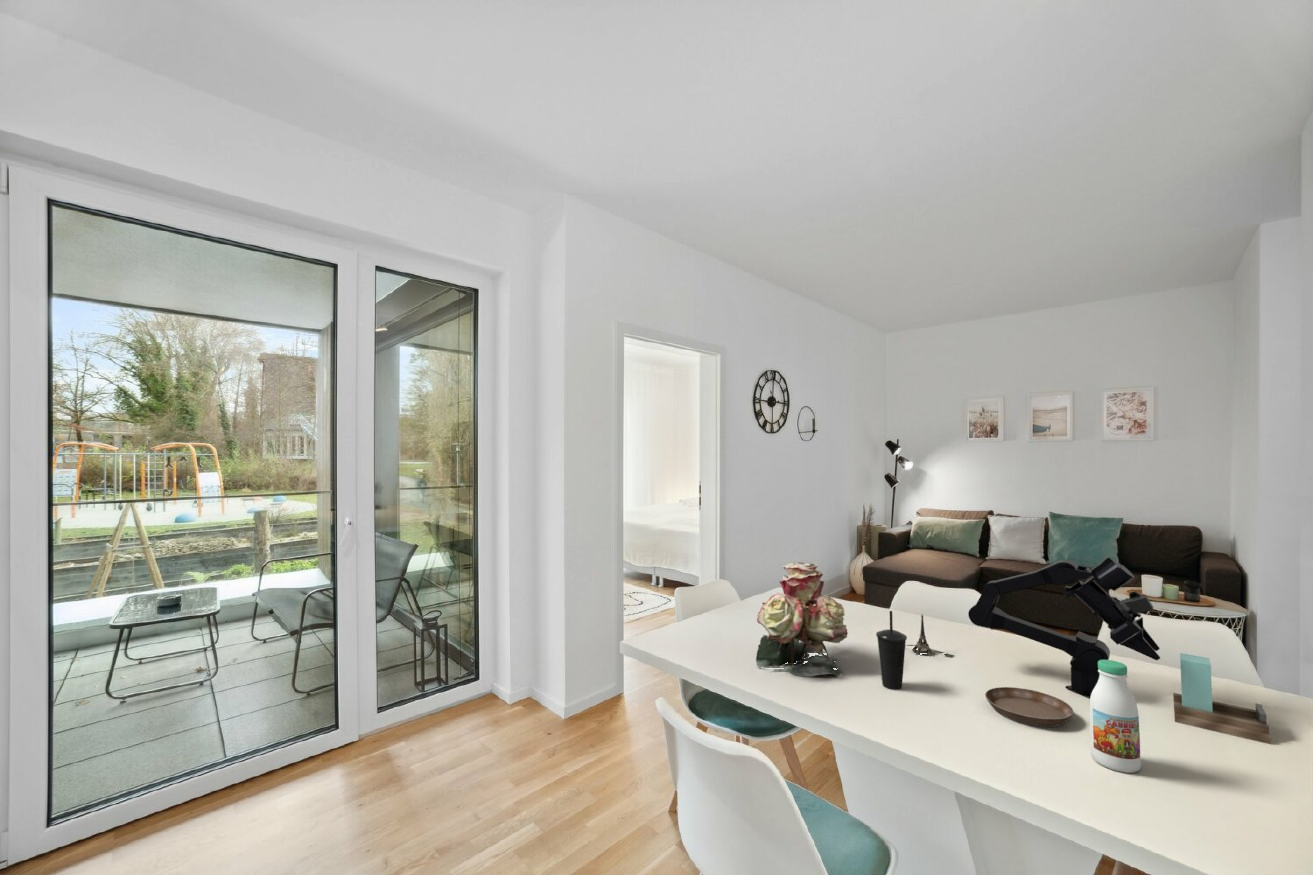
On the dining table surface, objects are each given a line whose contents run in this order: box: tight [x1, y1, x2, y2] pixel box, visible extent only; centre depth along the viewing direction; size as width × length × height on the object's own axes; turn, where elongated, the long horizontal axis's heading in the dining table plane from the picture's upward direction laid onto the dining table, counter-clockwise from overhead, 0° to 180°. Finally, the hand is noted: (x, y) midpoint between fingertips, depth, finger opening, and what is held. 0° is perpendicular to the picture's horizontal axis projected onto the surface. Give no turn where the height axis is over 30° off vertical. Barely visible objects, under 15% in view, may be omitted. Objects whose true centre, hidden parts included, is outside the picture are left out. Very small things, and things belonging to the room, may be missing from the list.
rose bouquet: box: [755, 561, 849, 678], centre depth 167 cm, size 26×29×30 cm
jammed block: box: [1179, 653, 1213, 713], centre depth 131 cm, size 5×6×12 cm
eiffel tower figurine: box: [906, 614, 956, 659], centre depth 174 cm, size 15×10×13 cm
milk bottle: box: [1089, 659, 1141, 774], centre depth 111 cm, size 8×8×20 cm
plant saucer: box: [984, 686, 1074, 728], centre depth 133 cm, size 18×18×3 cm
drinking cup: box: [875, 610, 908, 691], centre depth 149 cm, size 8×8×20 cm
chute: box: [1172, 692, 1272, 745], centre depth 128 cm, size 15×13×5 cm
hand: (1158, 654), depth 135 cm, fingers open, 8 cm apart
